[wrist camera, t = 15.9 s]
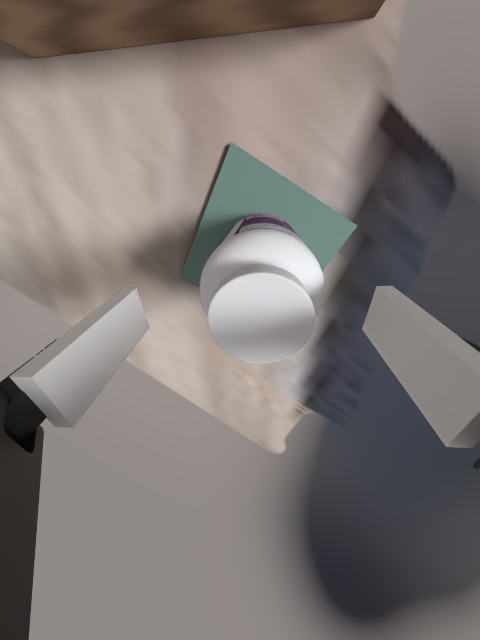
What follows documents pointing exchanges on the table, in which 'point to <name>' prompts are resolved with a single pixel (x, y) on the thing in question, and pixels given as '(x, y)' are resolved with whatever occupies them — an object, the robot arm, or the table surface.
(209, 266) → the pill bottle
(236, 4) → the crate
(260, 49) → the table surface
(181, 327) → the table surface
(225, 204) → the mat
